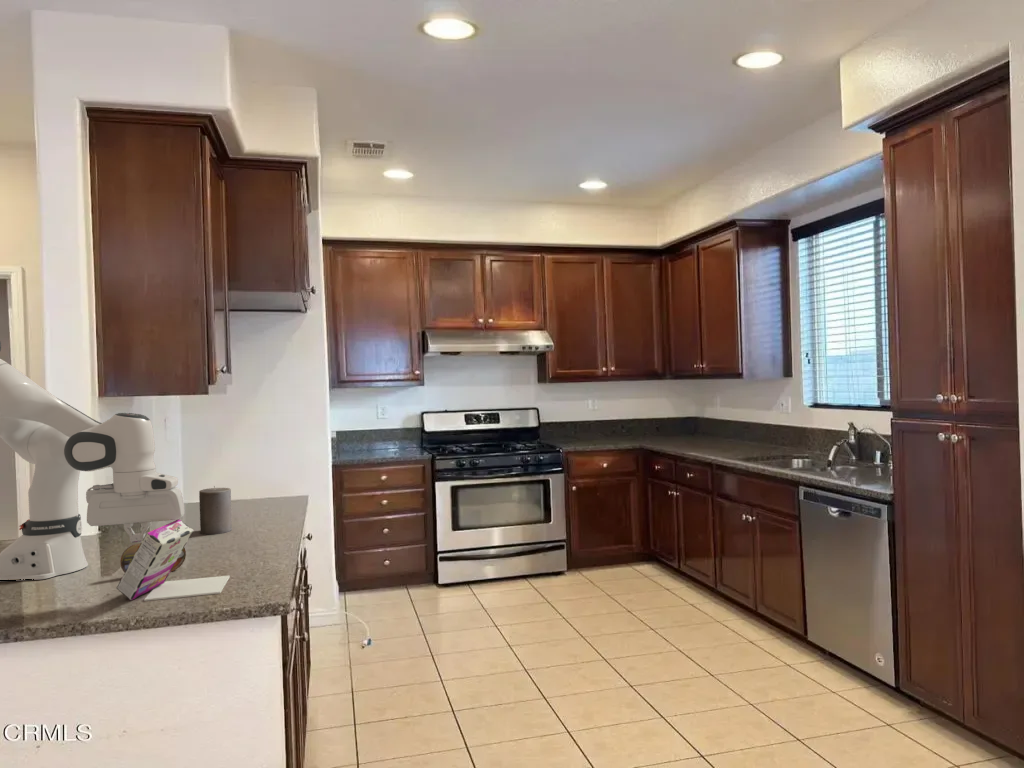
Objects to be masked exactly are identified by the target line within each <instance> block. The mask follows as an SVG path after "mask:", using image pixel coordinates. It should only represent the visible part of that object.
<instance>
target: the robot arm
mask: <svg viewBox="0 0 1024 768" xmlns="http://www.w3.org/2000/svg"><path fill="white" fill-rule="evenodd" d="M1 350H2V342H1V341H0V352H1ZM0 439H1V440H2V441H3V442H4V443H5V445H8V447H10V449H12V451H14V452H15V453H16V454H17V455H18V456H19V457H21V458H22V459H23V460H25V461H26V462H28V463H30V464H33V465H34V470H33V471H34V472H33V477H32V482H31V485H30V487H29V488H28V493H27V494H28V515H29V516H28V517H29V519H27V520H25V521H24V522H23V523H22V524H20V525H19V526H18V527H19V529H18V530H19V531H20V530H21V533H22V534H21V535H19V537H17V538H16V539H15V540H14V541H13V542H12V543H10V544H9V545H7V546H6V547H5V548H4V549H3V550H2V551H0V580H8V579H9V580H10V579H21V580H20V581H26V580H25V579H32V580H31V581H33V579H34V580H36V581H37V580H45V579H49V578H53V577H56V576H61V575H66V574H70V573H73V572H77V571H80V570H82V569H85V568H86V567H88V566H89V563H88V561H87V559H86V555H85V551H84V549H83V543H82V537H81V535H82V531H83V530H82V529H83V527H82V526H83V525H82V517H81V514H80V513H79V480H80V474H81V472H95V471H98V470H99V471H100V470H103V469H107V468H111V469H112V480H113V481H112V482H113V483H107V484H96V485H92V486H91V487H90V488H87V490H86V493H85V498H86V503H87V509H86V523H87V524H88V526H90V527H100V526H113V525H123V529H124V531H125V532H126V534H127V535H128V536H129V543H130V544H132V543H142V541H143V539H144V537H145V535H146V533H147V531H148V530H149V527H150V526H151V522H152V523H153V522H164V521H165V522H167V521H176V520H178V519H179V520H181V519H182V517H183V516H184V515H185V511H186V510H185V502H184V497H183V496H184V495H183V493H182V491H181V489H180V488H178V487H177V485H178V484H179V479H178V477H176V476H172V475H168V474H163V473H159V472H157V468H156V464H155V460H154V454H155V451H156V450H155V449H156V446H155V445H156V444H155V435H154V429H153V424H152V421H151V419H150V418H149V417H148V416H146V415H145V414H144V415H143V414H140V413H132V412H129V413H128V412H118V413H115V414H113V416H112V417H110V418H109V419H107V420H105V421H104V422H99V421H98V420H96V419H94V418H92V417H90V416H88V415H87V414H85V413H84V412H82V411H80V410H79V409H77V408H76V407H74V406H71V404H68V403H66V402H65V401H63V400H62V399H60V398H58V397H56V396H55V395H53V394H52V393H50V391H48V390H46V388H43V387H42V386H41V385H39V384H38V383H37V382H35V381H34V380H33V379H31V378H30V377H29V376H27V375H26V374H24V373H23V372H21V371H20V370H19V369H17V368H16V367H15V366H13V365H12V364H10V363H8V362H7V361H5V360H4V359H1V358H0ZM138 523H139V524H140V526H141V528H142V530H141V532H139V533H137V532H136V533H135V531H134V530H133V528H132V527H134V524H138ZM23 579H24V580H23Z"/></svg>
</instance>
